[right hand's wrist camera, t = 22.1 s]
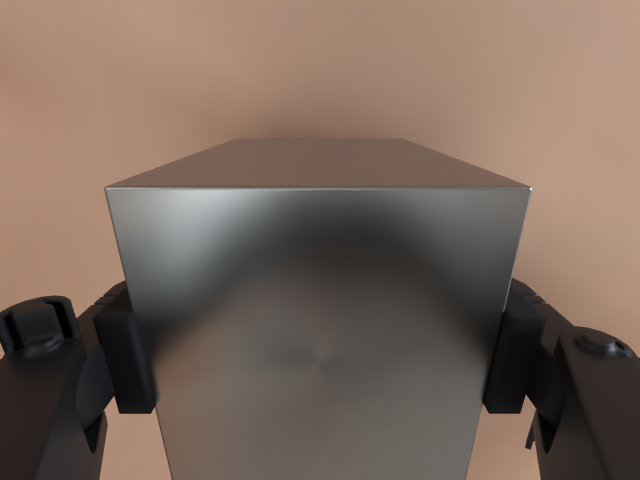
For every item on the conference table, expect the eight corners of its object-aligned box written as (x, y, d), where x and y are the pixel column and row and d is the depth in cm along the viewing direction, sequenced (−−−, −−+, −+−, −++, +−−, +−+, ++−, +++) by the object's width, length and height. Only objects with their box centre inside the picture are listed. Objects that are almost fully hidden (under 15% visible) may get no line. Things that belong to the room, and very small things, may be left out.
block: (403, 138, 16) (534, 186, 6) (390, 289, 19) (465, 482, 9) (235, 138, 16) (102, 186, 6) (248, 288, 19) (171, 482, 9)
